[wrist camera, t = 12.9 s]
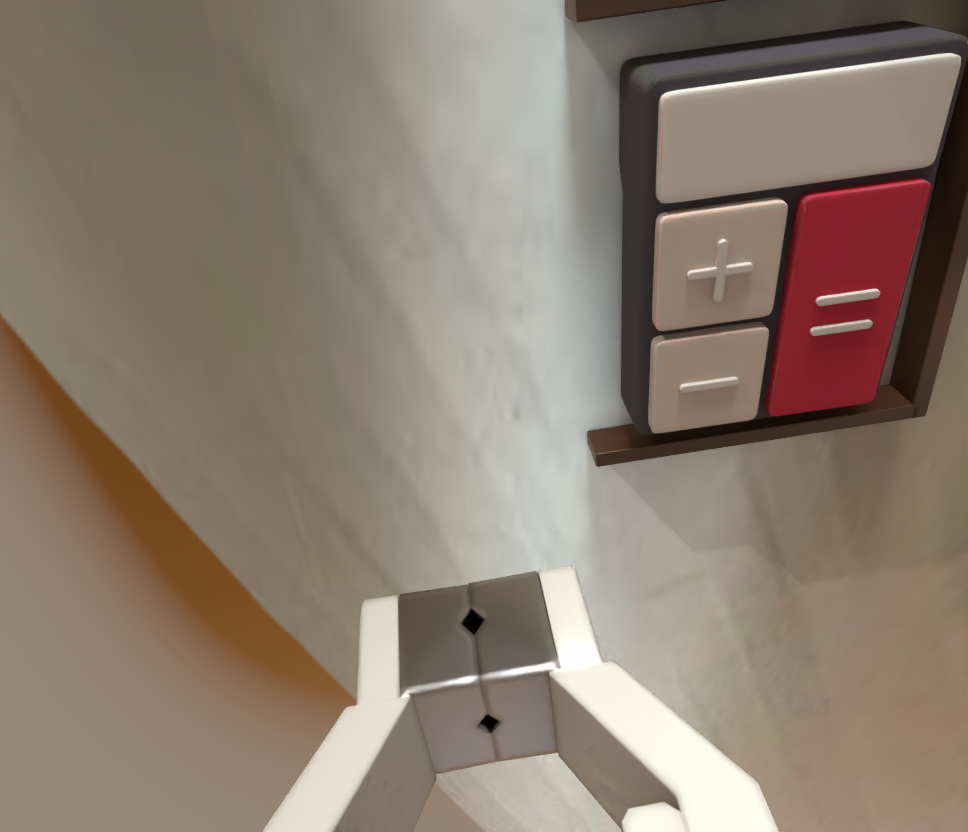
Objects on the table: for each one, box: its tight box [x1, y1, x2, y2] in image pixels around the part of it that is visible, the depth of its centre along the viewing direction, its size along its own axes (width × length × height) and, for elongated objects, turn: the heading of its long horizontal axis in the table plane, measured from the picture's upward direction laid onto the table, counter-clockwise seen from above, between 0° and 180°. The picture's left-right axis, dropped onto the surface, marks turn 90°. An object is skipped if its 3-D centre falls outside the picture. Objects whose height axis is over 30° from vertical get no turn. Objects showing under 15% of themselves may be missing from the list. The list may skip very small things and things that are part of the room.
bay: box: [565, 0, 968, 467], centre depth 30 cm, size 20×16×2 cm
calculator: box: [619, 21, 968, 435], centre depth 29 cm, size 11×4×15 cm
